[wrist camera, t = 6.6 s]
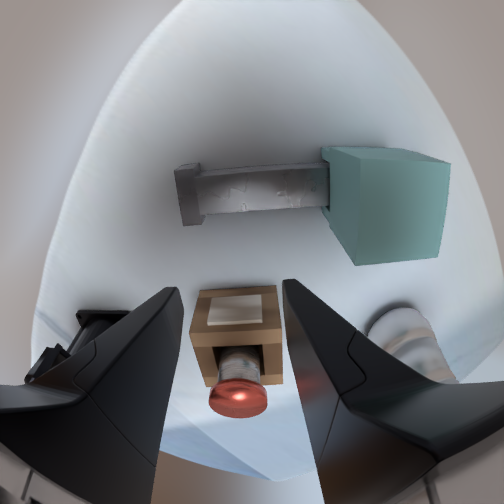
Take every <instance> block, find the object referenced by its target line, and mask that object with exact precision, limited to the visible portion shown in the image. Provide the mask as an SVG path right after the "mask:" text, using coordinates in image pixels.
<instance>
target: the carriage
mask: <svg viewBox="0 0 504 504" xmlns="http://www.w3.org/2000/svg"><path fill="white" fill-rule="evenodd" d="M321 153H322V159H324V160H326V161H328V162H329V163H330V206H322V213H323V214H324V216H325V217H326V219H327V220H328V221H329V223H330V228H331V230H332V231H333V233H334V234H335V236H336V237H337V239H338V240H339V242H340V243H341V245H342V246H343V248H344V249H345V251H346V252H347V254H348V256H349V257H350V259H351V260H352V262H353V263H354V265H355V266H360V265H370V264H380V263H390V262H400V261H409V260H418V259H427V258H436V257H438V254H439V249H440V244H441V239H442V233H443V227H444V221H445V215H446V207H447V200H448V191H449V180H450V168H451V164H450V163H447V162H444V161H441V160H438V159H435V158H432V157H429V156H426V155H423V154H419V153H416V152H412V151H409V150H405V149H396V148H376V147H329V148H321Z"/></svg>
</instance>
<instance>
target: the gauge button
mask: <svg viewBox="0 0 504 504" xmlns="http://www.w3.org/2000/svg"><path fill="white" fill-rule="evenodd" d="M209 405H210V407H211V408H212V409H213V410H214V411H215V412H217V413H218V414H221V415H223V416H226V417H231V418H249V417H253V416H256V415H258V414H260V413H262V412H263V411H264V410H265V409H266V408H267V392H266V389H265V388H264V387H263V386H262V385H261V384H260V358H259V344H258V345H240V346H221V354H220V363H219V372H218V381H217V383H215V384H214V385H213V386H212V387H211V389H210V395H209Z"/></svg>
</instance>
